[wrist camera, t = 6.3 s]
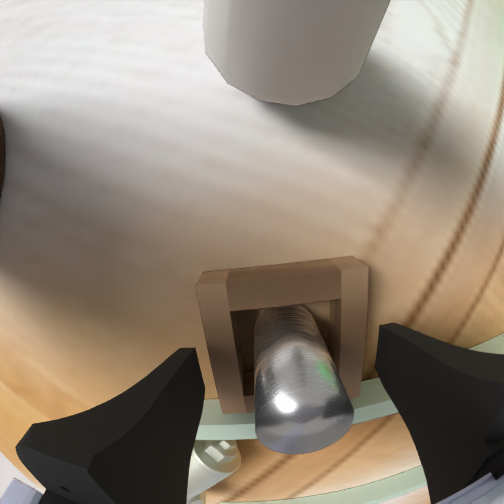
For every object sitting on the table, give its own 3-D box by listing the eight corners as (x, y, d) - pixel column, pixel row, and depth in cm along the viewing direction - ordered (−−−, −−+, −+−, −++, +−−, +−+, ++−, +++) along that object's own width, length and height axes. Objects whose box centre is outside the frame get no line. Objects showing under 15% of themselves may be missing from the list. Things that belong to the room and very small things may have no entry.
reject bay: (464, 449, 16) (472, 461, 14) (222, 507, 16) (221, 524, 14) (516, 326, 13) (532, 337, 11) (176, 399, 13) (168, 423, 11)
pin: (315, 351, 13) (348, 445, 7) (257, 358, 13) (259, 458, 7) (314, 298, 12) (359, 381, 6) (250, 305, 12) (249, 397, 6)
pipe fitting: (232, 405, 14) (124, 409, 14) (234, 457, 10) (105, 454, 10) (251, 474, 16) (164, 477, 16) (255, 515, 12) (158, 515, 12)
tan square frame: (348, 375, 13) (359, 396, 11) (225, 390, 13) (222, 413, 11) (352, 255, 12) (368, 267, 10) (203, 271, 12) (195, 286, 10)
